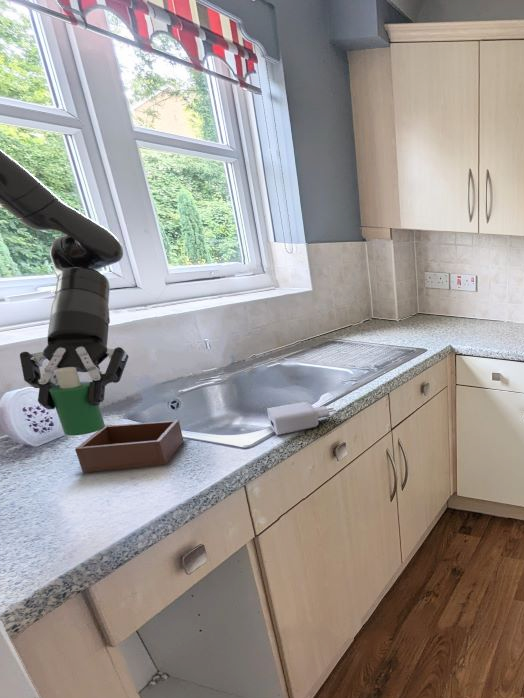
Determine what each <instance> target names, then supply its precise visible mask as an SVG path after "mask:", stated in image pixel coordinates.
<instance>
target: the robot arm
mask: <svg viewBox="0 0 524 698" xmlns="http://www.w3.org/2000/svg"><path fill="white" fill-rule="evenodd" d="M0 206H1V207H2V208H3V209H5V210H6V211H7V212H8V213H10V214H11V215H12V216H13V217H15V218H16V219H17V220H18V221H19V222H21V223H22V224H24V225H25V226H27V227H28V228H30V229H31V230H35V231H56V232H59V233H62V234H64V235H61V236H59V237H57V238H56V239H54V241H53V242H52V243H51V245H50V247H49V257H50V260H51V263H52V267H53V271H54V274H55V276H56V279H57V280H56V286H55V292H54V293H55V294H54V297H53V301H52V303H51V308H50V315H49V322H48V328H47V329H48V330H47V345H46V346H45V348H43V350H42V351H39V352H35V353H30V352H29V351H22V352H20V353H19V359H20V365H21V370H22V375H23V380H24V382H26V383H27V384H28V385H30V386H31V387H33V388H34V389H39V390H38V396H37V397H38V398H37V402H38V404H39V405H41V406H42V407H43V408H44V409H46V410H47V411H48V410H56V408H55V405H54V403H53V400H52V397H51V394H50V391H49V389H50V388H51V387H53V386H56V385H59V384H58V381H57V378H56V375H55V372H54V370H56V369H59V368H65V367H75V368H76V370H77V373H88V374H89V377H90V378H91V380H92V381H89V382H90V384H89V395H88V401H89V403H91V404H92V405H93V406H97V405H99V406H100V404H101V403H103V402H104V400H105V393H106V387H107V385H108V384H111V383H114V384H117V383H119V382H120V381H121V379H122V377H123V374H124V370H125V367H126V365H127V362H128V359H129V355H128V353H127V352H126V350H124V349H123V347H121V346H117V347H115V348H108V347H107V346H108V340H109V339H108V337H109V326H110V323H111V319H110V309H109V305H110V304H109V303H110V302H109V301H110V288H111V287H110V282H109V280H108V278H107V276H106V275H104V274H103V273H102V272H100V271H98V270H100V269H103V268H105V267H107V266H112V265H114V264H116V263H119V262H120V261H121V260H122V259H123V257H124V249H123V246H122V244H121V242H120V241H119V239H118V238H117V236H115V235H114V234H113V233H112V232H111V231H110V230H108V229H107V228H106V227H104V226H103V225H101V224H99V223H98V222H96V221H94V220H92V219H91V218H89V217H88V216H86V215H84V214H83V213H81V212H80V211H78V210H76V209H75V208H73V207H71V206H69V205H68V204H67V203H65V202H63V201H62V200H61V199H60V198H59V197H58V196H56V194H54V193H53V192H52V190H50V189H49V188H47V186H45V185H44V184H43V183H42V182H41V181H40V180H39V179H38V178H36V177H35V176H34V175H33V174H32V173H30V172H29V171H28V170H27V169H26V168H24V167H23V166H22V165H20V164H19V163H18V162H17V161H16V160H14V159H13V158H12V157H10V156H9V155H7V153H5V152H4V151H2V150H1V149H0ZM107 358H108V359H109V363H108V365H107V367H106V370H105V372H104V373H103V371H102V369H101V367H100V365H101V363H103V361H105V360H106V359H107ZM45 360H48V363H47V364H46V365H45V367H44V372H43V373H42V375H41V367H43V363H44V361H45Z"/></svg>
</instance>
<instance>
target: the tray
mask: <svg viewBox="0 0 524 698" xmlns="http://www.w3.org/2000/svg"><path fill="white" fill-rule="evenodd" d="M184 441H185V440H184V436H183V431H182V428H181V424H180V420H178V419H177V420H176V419H175V420H165V421H164V420H163V421H152V422H138V423H126V424H113V425H112V424H111V425H105V427H104V428H103V429H101V430H99V431H96V432H93V434H92V435H91V436H89V437H88V438H87V439H85V441H84V440H83V442H82V443H80V444H79V445H78V446H77V447H76V448H74V450H75V453H76V457H77V459H78V462H79V466H80V469H81V471H82V473H83V474H85V473H94V472H103V471H113V470H114V471H115V470H125V469H132V468H134V469H135V468H141V467H142V468H143V467H151V466H152V467H153V466H160V465H162V466H163V465H166V464H167V463H168V462H169V460H171V458H172V457H173V455H174V454H175V453H176V452H177V451H178V449H179V448H180V446H181V445H182V444H183V443H184Z"/></svg>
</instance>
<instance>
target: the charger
mask: <svg viewBox="0 0 524 698" xmlns="http://www.w3.org/2000/svg"><path fill="white" fill-rule="evenodd" d="M266 411H267V417H268V422H269V426H270V427H271V429H272V430H273V431H274V432H273V433H275V435H276V436H281V435H284V434H289V433H295V432H299V431H304V430H309V429H313V428H316V427H317V426H318V425H319V420H320V419H323V418H328V417H330V416H331V413H334V412H336V411H337V410H336V409H334V407H329V408H327V406H325V405H321V406H317V407H314V406H313V405H312V404H311V403H309V402H307V401H302V402H296V403H290V404H285V405H280V406H273V407H267V408H266Z"/></svg>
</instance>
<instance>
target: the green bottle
mask: <svg viewBox="0 0 524 698" xmlns="http://www.w3.org/2000/svg"><path fill="white" fill-rule="evenodd" d="M54 372H55V375H56V378H57V381H58V385H56V386H53V387H51V388H50V389H49V391H50V394H51V397H52V400H53V403H54V405H55V411H56V414H57V417H58V419H59V422H60V425H61V428H62V431H63V433H64V435H65V436H72V437H73V436H82V435H88V434H89V435H90V434H92V433H93V434H94V433H96V432H97V431H99V430H101V429H103V428H104V427H105V426H106V424H105V421H104V417H103V414H102V412H101V408H100V405H97V406H93V405H92V404H91V403H89V401H88V395H89V384H90V382H91V381H81V379H80V376H79V372H77V370H76V368H75V367H65V368H59V369H56V370H54Z"/></svg>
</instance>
